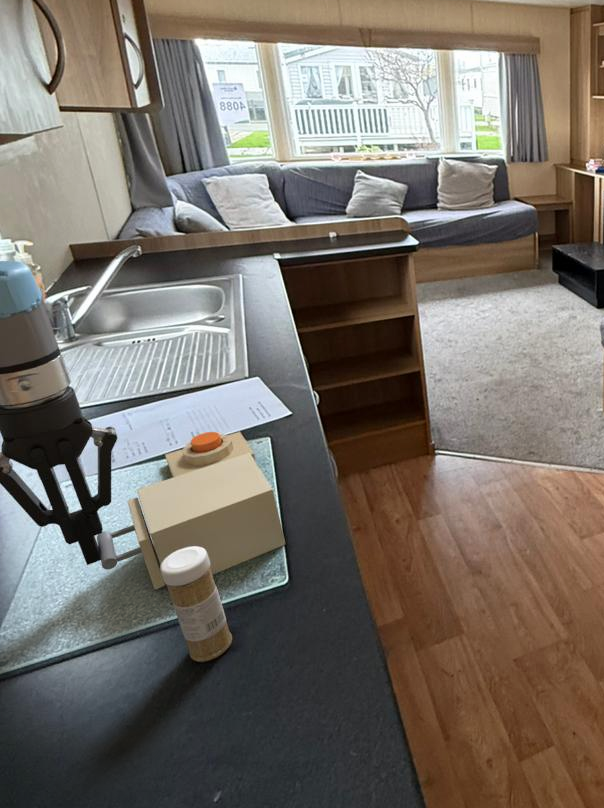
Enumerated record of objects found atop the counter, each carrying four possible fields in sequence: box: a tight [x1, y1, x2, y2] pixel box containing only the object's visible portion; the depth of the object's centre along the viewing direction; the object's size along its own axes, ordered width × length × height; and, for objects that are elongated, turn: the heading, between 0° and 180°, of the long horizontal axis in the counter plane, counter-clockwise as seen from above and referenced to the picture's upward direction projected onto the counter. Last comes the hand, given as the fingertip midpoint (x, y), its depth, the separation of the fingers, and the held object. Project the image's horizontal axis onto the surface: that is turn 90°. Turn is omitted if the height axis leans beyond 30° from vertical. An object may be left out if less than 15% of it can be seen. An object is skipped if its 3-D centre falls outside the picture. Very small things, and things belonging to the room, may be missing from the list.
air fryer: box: [136, 453, 286, 591], centre depth 93 cm, size 15×13×10 cm
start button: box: [190, 431, 222, 453], centre depth 112 cm, size 4×4×2 cm
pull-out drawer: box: [96, 497, 166, 590], centre depth 90 cm, size 18×11×8 cm, turn 130°
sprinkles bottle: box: [159, 546, 233, 663], centre depth 75 cm, size 5×5×14 cm
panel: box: [164, 431, 258, 478], centre depth 113 cm, size 12×10×4 cm
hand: (93, 556), depth 84 cm, fingers closed
